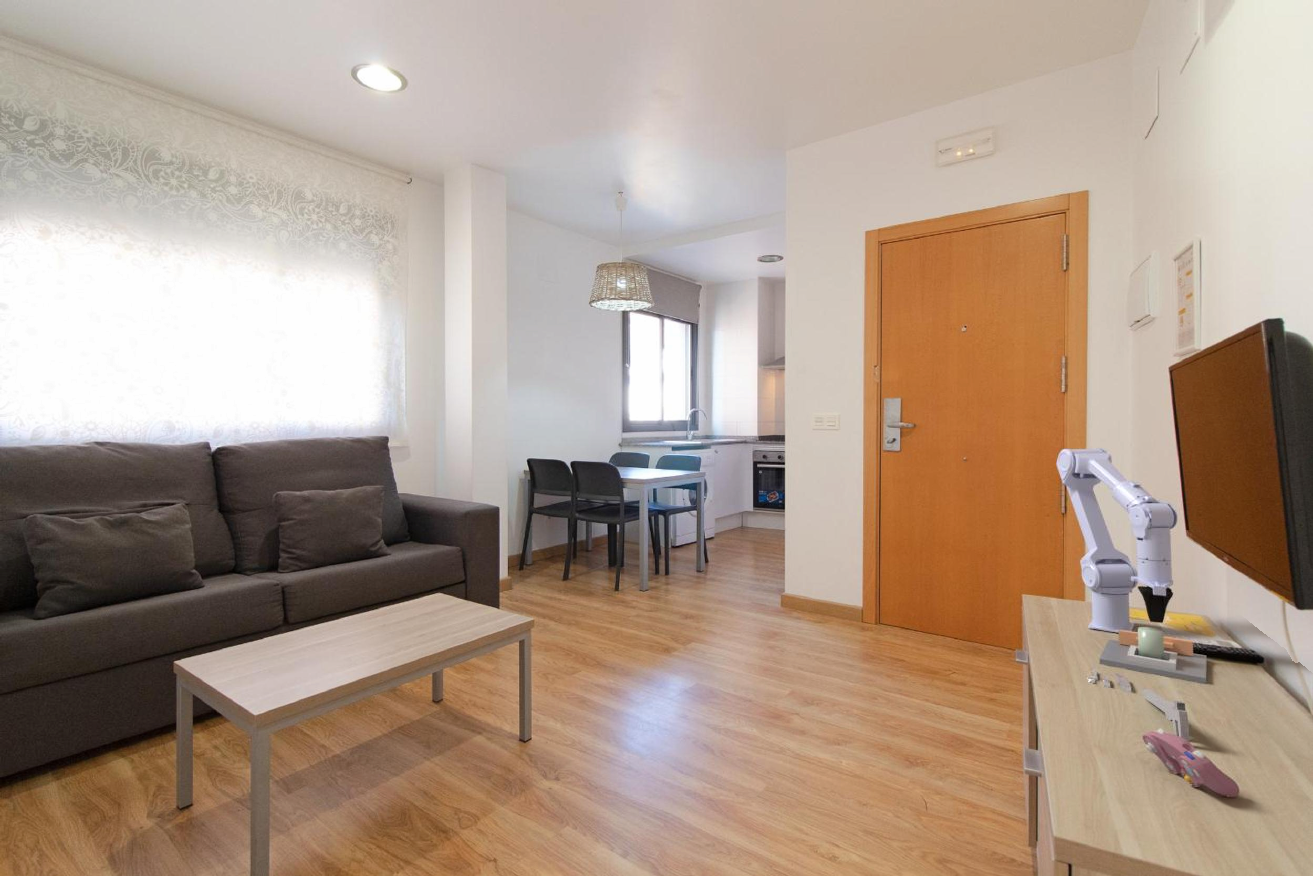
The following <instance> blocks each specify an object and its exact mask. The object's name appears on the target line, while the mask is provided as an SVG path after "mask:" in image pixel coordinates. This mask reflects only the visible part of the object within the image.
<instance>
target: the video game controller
mask: <svg viewBox="0 0 1313 876" xmlns="http://www.w3.org/2000/svg"><path fill="white" fill-rule="evenodd" d="M1142 740H1143V741H1144V744H1145V748H1146V750H1147V751H1148V752H1149V753H1151V754H1154V755H1155V756H1156V758H1157V757H1158V759H1159V760H1160V761H1161V762H1162V764H1163V765H1164V766H1165V767H1166V769H1167V770H1169V771H1170V770H1171V771H1172V772H1171V771H1170V772H1171V773H1173V774H1174V773H1175V774H1174V775H1178V774H1179V773H1181V774H1180V775H1181V776H1182V777H1183V779H1184V780H1185V782H1187V783H1188V782H1189V784H1190V785H1191V784H1192V785H1194V786H1195V787H1198V788H1200V787H1202V786H1203V785H1204V786H1206V787H1207V788H1208V789H1210V790H1212V791H1213V792H1215V793H1217V794H1219V795H1221V796H1223V797H1225V796H1227V797H1226V798H1229V797H1234V798H1237V797H1238V796H1239V794H1240V787H1239V785H1238V784H1237V782H1236V781H1235V780H1234V779H1233V778H1232V777H1230V776H1228V775H1227V774H1225V772H1223V771H1222V770H1220V769H1219V768H1218V766H1216V765H1215V764H1214V763H1213V761H1211V759H1210V758H1208V757H1207V756H1206V755H1205V754H1204V753H1202V752H1201V751H1199V750H1197V748H1196V747H1195V746H1193V745H1192V744H1191V742H1190V741H1189V742H1188V741H1187V740H1186V739H1184V738H1182V737H1179V736H1177V735H1175V733H1168V732H1165V731H1164V729H1162V728H1158V730H1151V731H1149V732H1147V733H1145V734H1143V735H1142ZM1192 785H1191V786H1192ZM1194 786H1193V787H1194ZM1195 787H1194V788H1195ZM1228 796H1229V797H1228Z"/></svg>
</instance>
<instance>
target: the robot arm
mask: <svg viewBox="0 0 1313 876" xmlns="http://www.w3.org/2000/svg"><path fill="white" fill-rule="evenodd" d="M1112 462H1113V461H1112V455H1111V454H1110V453H1108V451H1107V450H1105V448H1102V447H1098V448H1084V449H1083V448H1078V449H1077V448H1075V449H1074V448H1073V449H1072V448H1071V449H1070V448H1064V449H1062V450H1061V451H1060V452H1059V453H1058V456H1057V460H1056V464H1055V465H1056V468H1057V470H1058V473H1059V475H1060V476H1059V477H1060V478H1061V479H1060V480H1061V482H1062V484H1063V485H1065V486H1066V489H1067V492H1068V494H1069V498H1070V501H1071V503H1072V507H1073V510H1074V513H1075V515H1076V519H1077V521H1078V524H1079V528H1080V530H1081V534H1082V536H1083V539H1084V542H1085V545H1086V547H1087V550H1088V552H1087V553H1086V554H1085V555H1084V556H1083V557H1081V559H1080V561H1079V563H1080V568H1081V578H1082V581H1083V583H1084V584H1085V585H1086V587H1087V588H1088V590H1091V617H1092V619H1091V621H1090V623H1089V624H1088V626H1087V627H1088V629H1093V630H1099V631H1104V632H1112V633H1117V634H1118V631H1119V629H1120V630H1126V631H1133V629H1134V628H1135V627H1134V626H1135V622H1130V619H1131V618H1130V594H1132V593H1133V589H1135V588H1136V587H1137V589H1138V591H1139V593H1140V594H1141V596H1142V599H1143V602H1144V605H1145V610H1146V614H1147V618H1148V619H1149V622H1150V623H1159V624H1163V622H1164V619H1165V616H1166V613H1167V607H1168V604H1169V602H1170V601H1171V599H1172V597H1173V596H1174V592H1173V590H1172V589H1171V588H1170V587H1171V586H1173V585H1174V580H1173V577H1172V576H1173V574H1172V573H1173V572H1172V546H1171V545H1172V543H1171V539H1172V538H1171V529H1173V528H1175V526H1176V525H1177V523H1178V513H1177V511H1176V509H1175V507H1174V506H1173V504H1172V503H1170V502H1167V501H1161V500H1157V499H1156V498H1154V497H1153V496H1152V495H1151V494H1150V493H1149V492H1148V491H1147V490H1146V489H1145V488H1144V487H1142V486H1141V483H1139V481H1134V480H1127V479H1126V478H1125V477H1124V476H1123V475H1122V474H1121V472H1119V470H1118V468H1116V467H1115V465H1113V463H1112ZM1101 482H1102V483H1104V484H1105V485H1106V486H1107V487H1108V488H1109V489H1111V490H1112V492H1111V495H1112V498H1113V499H1114V500H1115V501H1116V502H1117V504H1119V505H1120V506H1121V507H1122V508H1123V509H1124V510H1125V511H1126V512H1127V513H1128V521H1129V523H1130V525H1131V527H1132V534H1133V535H1134V537H1136V538H1135V539H1136V565H1137V566H1136V567H1137V569H1136V567H1135V566H1134V565H1133V564H1132V562H1131V561H1130V558H1129V556H1128V555H1127V554H1125V553H1124V552H1122V551H1120V550H1118V549H1117V548H1115V545H1114V543H1113V541H1112V538H1111V535H1110V532H1109V530H1108V527H1107V524H1106V521H1105V518H1104V516H1103V512H1102V511H1101V507H1100V505H1099V502H1098V499H1097V496H1096V494H1095V491H1094V488H1095V486H1096V485H1099V484H1100V483H1101ZM1138 583H1139V584H1143V585H1144V586H1143V585H1141V586H1140V585H1139V586H1137V585H1138Z"/></svg>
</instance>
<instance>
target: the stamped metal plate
mask: <svg viewBox="0 0 1313 876" xmlns="http://www.w3.org/2000/svg"><path fill="white" fill-rule="evenodd" d="M1091 672H1092V675H1090V676H1089V675H1088V676H1086V677H1087V678H1086V679H1087V680H1086V681H1087V683H1088V682H1089V684H1091V683H1095V684H1096V681H1098V675H1101V673H1099V674H1098V672H1097V670H1096V669H1095V668H1094V669H1093V668H1092V671H1091ZM1093 675H1094V676H1093ZM1104 675H1106V676H1108V674H1106V673H1104ZM1106 676H1102V683H1103V685H1104V687H1103V686H1102V687H1101V686H1099V688H1101V689H1104V688H1106V689H1107V690H1111V682H1110V679H1109V677H1106ZM1110 676H1111V677H1113V678H1115V679H1116V680H1117V681H1118V683H1119V688H1120V689H1118V691H1119V692H1120V691H1121V692H1126V693H1132V686H1131V684H1130V681H1129V678H1127V677H1125V676H1123V675H1120V674H1118V673H1116V674H1115V676H1114V675H1112V674H1110ZM1112 690H1114V691H1117V688H1116V689H1114V688H1112Z"/></svg>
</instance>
